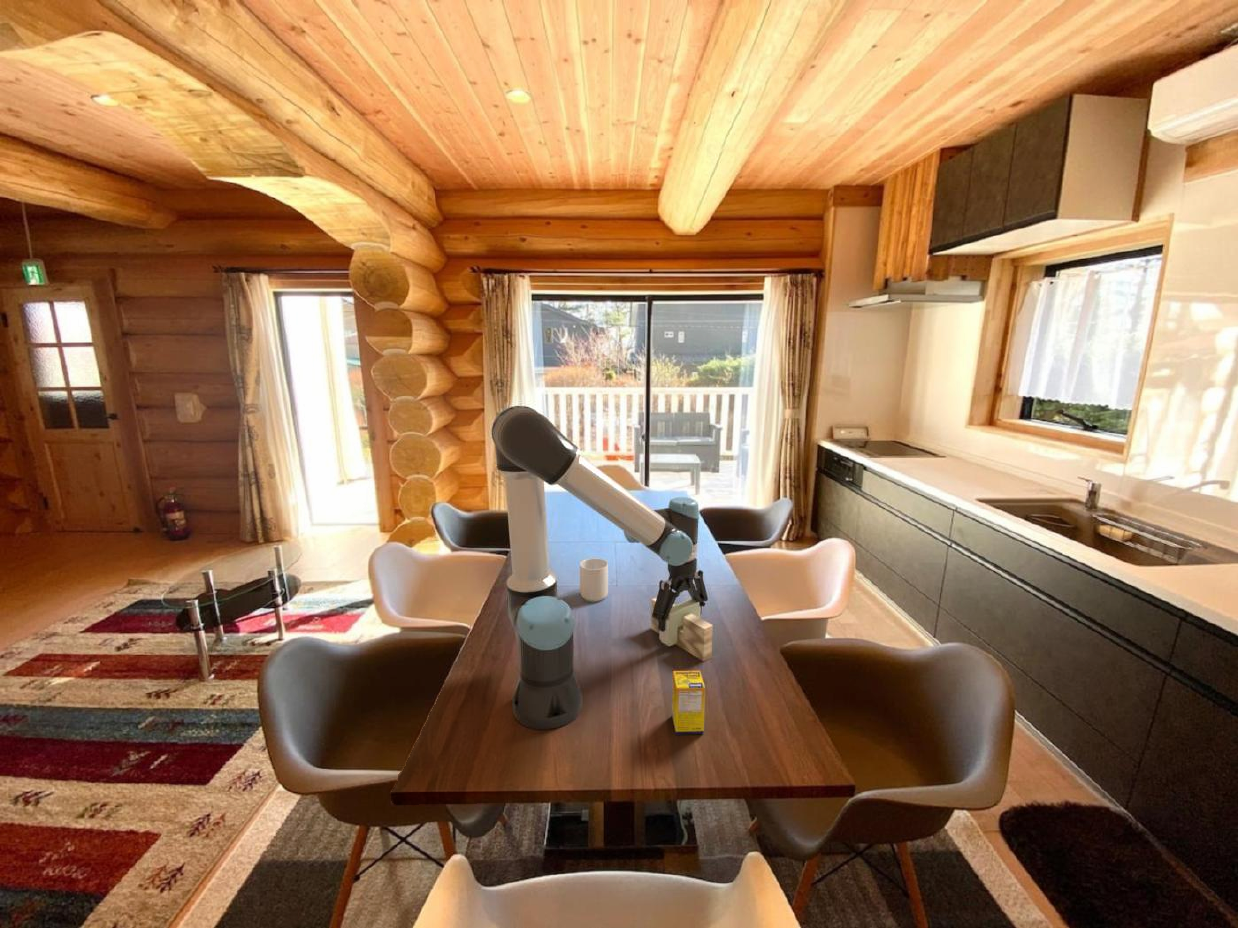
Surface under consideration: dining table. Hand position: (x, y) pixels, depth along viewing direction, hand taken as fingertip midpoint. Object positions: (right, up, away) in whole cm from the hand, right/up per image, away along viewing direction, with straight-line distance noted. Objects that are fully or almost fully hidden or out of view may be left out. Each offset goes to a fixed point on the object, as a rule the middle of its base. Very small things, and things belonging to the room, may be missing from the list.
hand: (679, 633), depth 139 cm
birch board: (0, -3, +1) cm, 3 cm away
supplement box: (-2, -9, -30) cm, 32 cm away
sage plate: (0, -1, 0) cm, 1 cm away
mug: (-24, +3, +28) cm, 37 cm away
